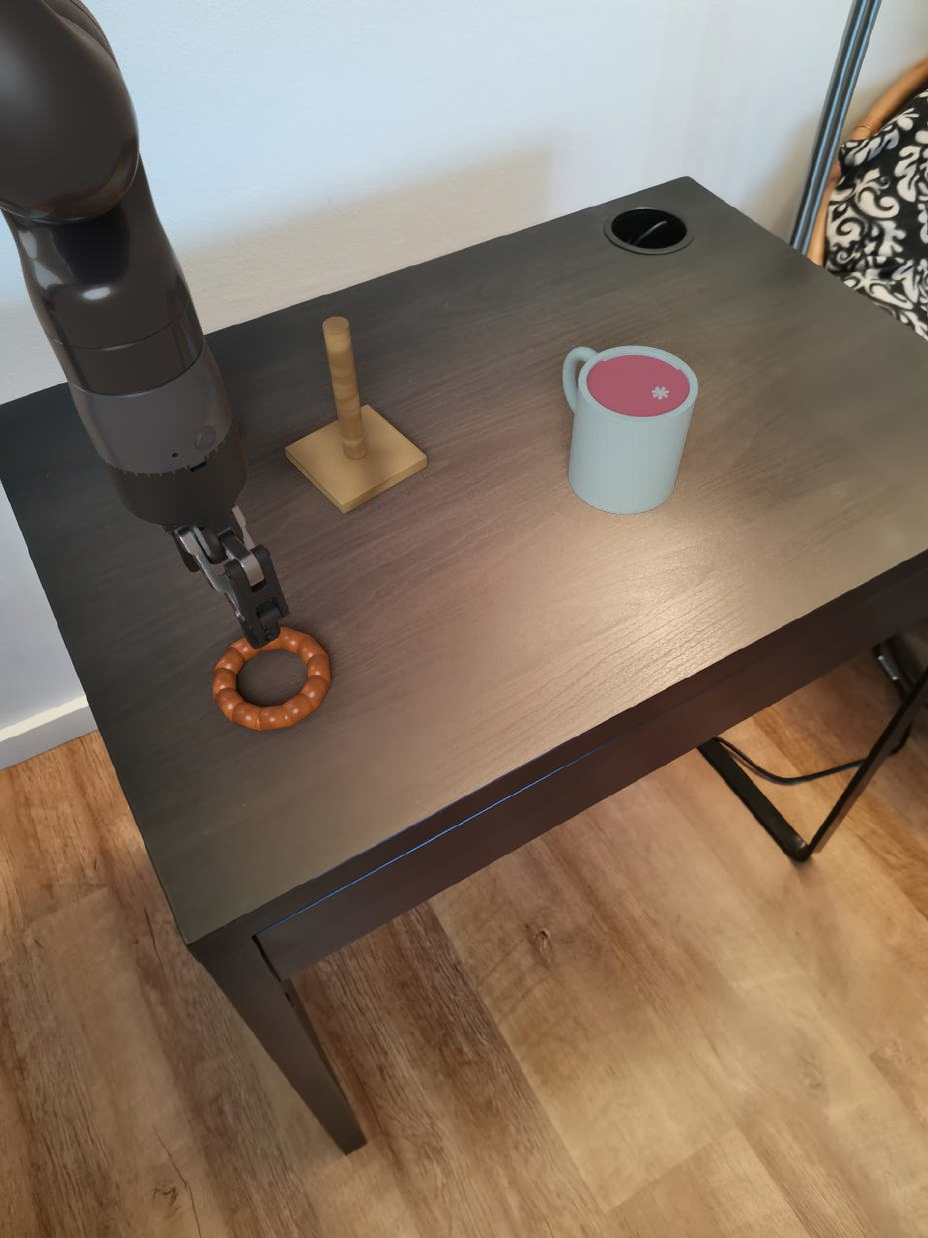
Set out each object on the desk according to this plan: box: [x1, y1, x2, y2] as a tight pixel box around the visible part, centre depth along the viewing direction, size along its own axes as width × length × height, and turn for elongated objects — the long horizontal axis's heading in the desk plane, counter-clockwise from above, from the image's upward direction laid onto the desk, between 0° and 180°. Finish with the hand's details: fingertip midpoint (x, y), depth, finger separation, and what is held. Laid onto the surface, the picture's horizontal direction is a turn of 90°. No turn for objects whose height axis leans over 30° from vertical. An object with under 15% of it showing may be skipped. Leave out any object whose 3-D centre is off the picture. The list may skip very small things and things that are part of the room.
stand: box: [284, 316, 429, 515], centre depth 72 cm, size 9×9×14 cm
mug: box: [561, 345, 699, 515], centre depth 74 cm, size 14×9×10 cm
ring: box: [212, 626, 332, 732], centre depth 64 cm, size 8×8×2 cm
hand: (233, 600), depth 61 cm, fingers open, 8 cm apart
